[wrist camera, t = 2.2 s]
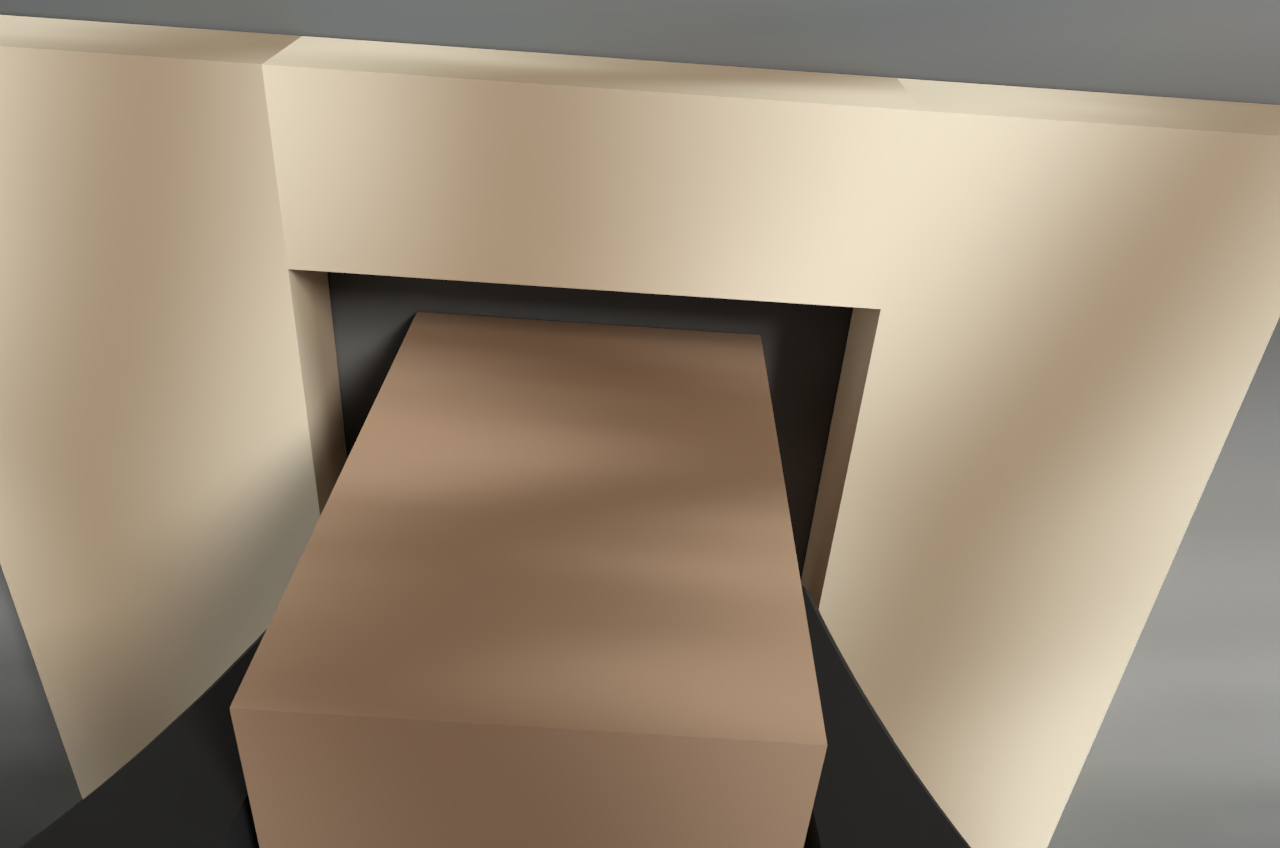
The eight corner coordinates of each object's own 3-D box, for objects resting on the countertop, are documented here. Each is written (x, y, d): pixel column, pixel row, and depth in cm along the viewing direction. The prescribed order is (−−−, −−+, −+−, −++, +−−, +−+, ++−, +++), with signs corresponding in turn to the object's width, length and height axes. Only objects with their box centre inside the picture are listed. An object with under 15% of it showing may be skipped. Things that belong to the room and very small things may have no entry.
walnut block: (760, 334, 12) (827, 745, 7) (709, 697, 15) (729, 1159, 10) (416, 311, 12) (227, 709, 7) (438, 679, 15) (321, 1135, 10)
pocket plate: (1289, 105, 10) (1355, 141, 9) (996, 845, 17) (1017, 914, 16) (-101, 7, 10) (-186, 33, 9) (137, 793, 17) (103, 859, 16)
